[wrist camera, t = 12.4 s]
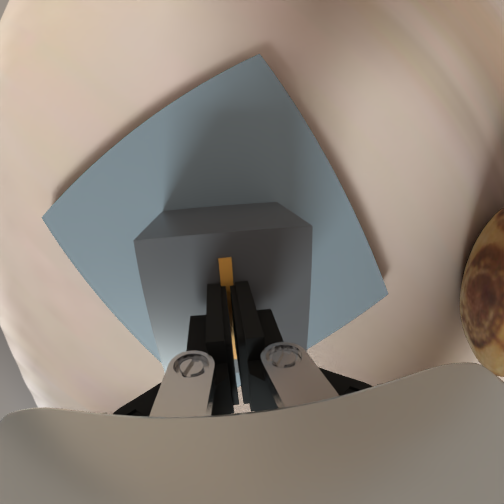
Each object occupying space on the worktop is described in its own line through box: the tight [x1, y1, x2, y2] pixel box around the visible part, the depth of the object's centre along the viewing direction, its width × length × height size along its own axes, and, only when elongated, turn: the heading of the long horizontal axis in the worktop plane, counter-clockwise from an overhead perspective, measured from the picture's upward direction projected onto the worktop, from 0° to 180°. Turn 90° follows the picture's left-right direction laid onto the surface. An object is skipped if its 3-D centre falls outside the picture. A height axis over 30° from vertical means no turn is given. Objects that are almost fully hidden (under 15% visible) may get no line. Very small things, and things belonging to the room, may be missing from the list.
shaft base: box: [42, 54, 388, 387], centre depth 16 cm, size 20×18×6 cm
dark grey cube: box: [133, 202, 313, 373], centre depth 14 cm, size 7×7×7 cm
